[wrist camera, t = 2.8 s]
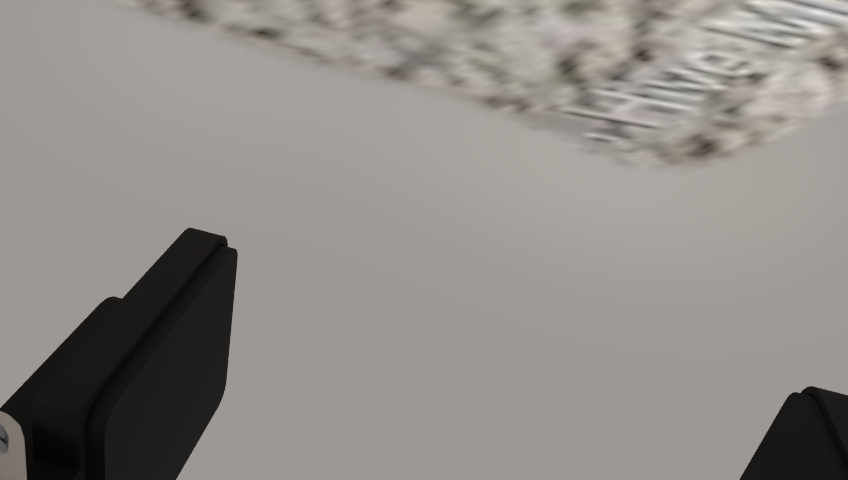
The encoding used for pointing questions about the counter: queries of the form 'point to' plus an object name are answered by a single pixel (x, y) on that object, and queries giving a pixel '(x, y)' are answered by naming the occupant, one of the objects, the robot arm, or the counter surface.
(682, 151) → the counter surface
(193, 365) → the robot arm
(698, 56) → the counter surface
